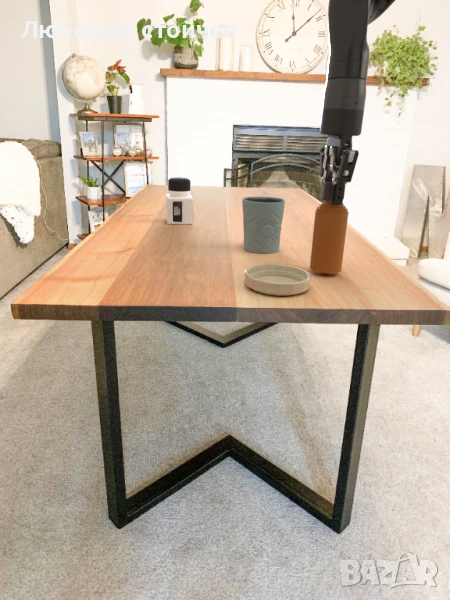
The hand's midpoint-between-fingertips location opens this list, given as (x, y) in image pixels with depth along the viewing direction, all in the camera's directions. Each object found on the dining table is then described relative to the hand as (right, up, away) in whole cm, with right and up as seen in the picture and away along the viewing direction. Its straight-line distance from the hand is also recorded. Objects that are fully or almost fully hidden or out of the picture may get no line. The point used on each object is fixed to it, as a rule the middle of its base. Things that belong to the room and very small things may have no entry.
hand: (332, 202), depth 87 cm
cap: (0, +1, 0) cm, 1 cm away
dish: (-11, -16, -4) cm, 20 cm away
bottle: (0, -13, +5) cm, 14 cm away
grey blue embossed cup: (-12, -7, +21) cm, 26 cm away
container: (-35, +5, +48) cm, 60 cm away
